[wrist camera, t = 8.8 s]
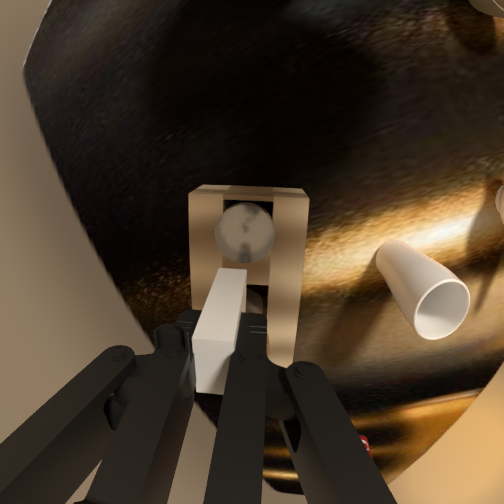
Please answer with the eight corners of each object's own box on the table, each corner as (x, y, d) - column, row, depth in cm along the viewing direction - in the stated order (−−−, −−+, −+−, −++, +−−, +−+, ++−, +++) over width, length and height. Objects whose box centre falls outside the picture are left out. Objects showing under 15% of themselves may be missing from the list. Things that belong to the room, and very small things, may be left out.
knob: (227, 190, 36) (214, 204, 28) (274, 192, 35) (276, 206, 27) (226, 236, 37) (214, 261, 29) (272, 238, 37) (273, 264, 29)
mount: (202, 184, 38) (188, 193, 31) (302, 188, 37) (309, 198, 31) (206, 349, 46) (197, 379, 39) (287, 354, 45) (288, 385, 39)
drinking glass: (371, 284, 41) (411, 349, 27) (366, 238, 39) (412, 288, 25) (415, 273, 40) (467, 330, 26) (412, 228, 38) (473, 271, 24)
